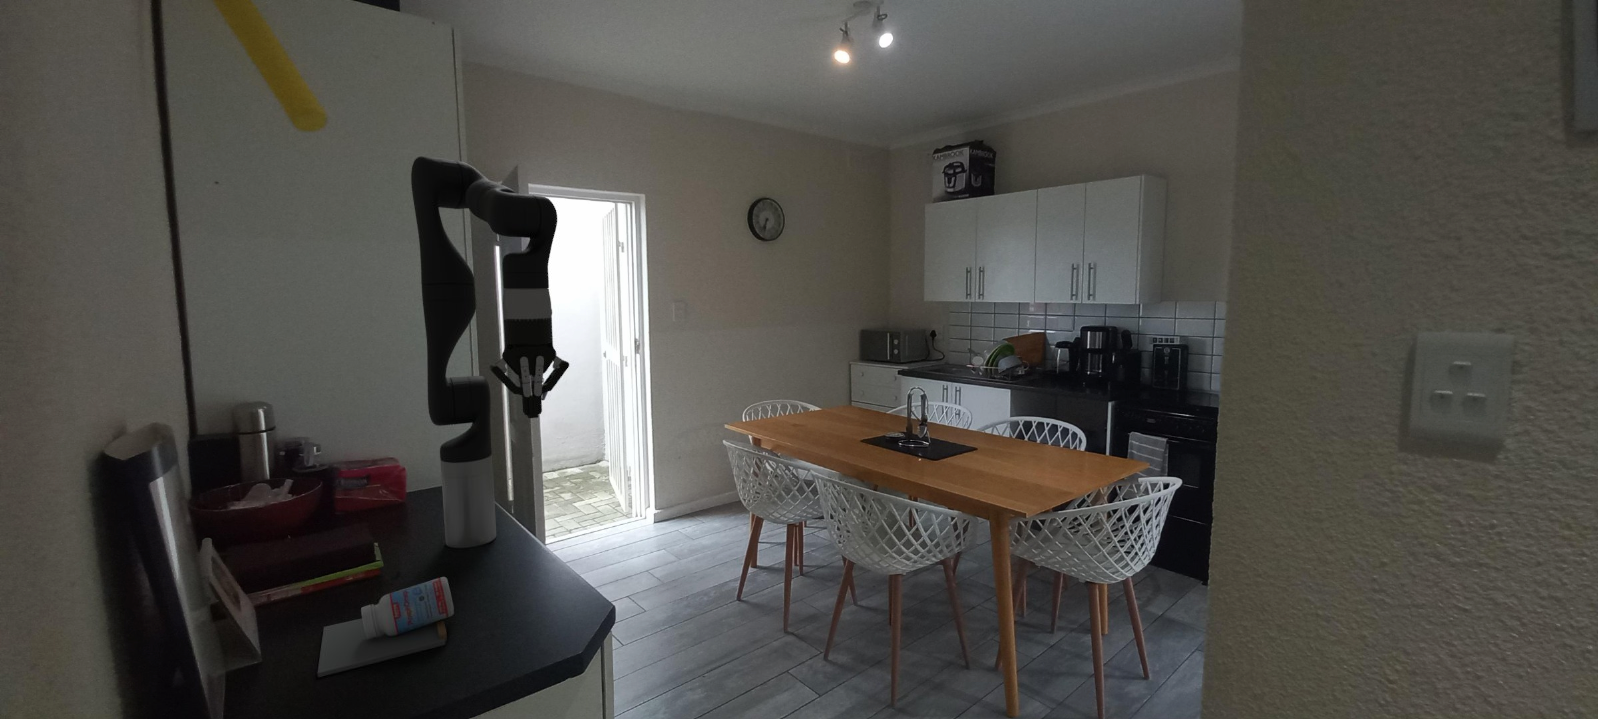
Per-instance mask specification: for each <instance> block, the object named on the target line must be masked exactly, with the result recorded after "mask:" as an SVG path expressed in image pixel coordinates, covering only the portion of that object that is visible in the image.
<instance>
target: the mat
mask: <svg viewBox="0 0 1598 719" xmlns="http://www.w3.org/2000/svg"><path fill="white" fill-rule="evenodd" d="M320 646H321V647H320V652H319V661H318V667H317V678H322V677H324V676H329V675H333V674H338V673H342V672H345V671H348V670H352V669H356V668H361V667H365V666H368V665H371V664H372V665H373V664H377V663H381V662H384V661H388V660H391V659H395V658H399V657H403V656H408V655H411V654H415V653H419V652H423V651H427V650H430V649H435V648H438V647H443V646H446V641H445V638H442V639H439V636H438V630H437V625H436V621H435V622H433V623H430V624H427V625H424V626H421V627H418V628H415V629H412V630H410V631H407V632H404V633H401V634H398V635H395V636H389V635H387V634H386V633H385V632H383V633H380V634H379V636H378V635H377V637H374V638H371V639H367V637H366V634H365V630H364V625H363V620H362V617H361V618H358V619H353V620H349V621H345V622H339V623H336V624H331V625H327V626H323V633H322V638H321V645H320Z"/></svg>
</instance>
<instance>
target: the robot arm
mask: <svg viewBox="0 0 1598 719" xmlns="http://www.w3.org/2000/svg"><path fill="white" fill-rule="evenodd" d="M410 175H411V176H410V182H411V183H410V184H411V191H412V192H411V193H412V201H413V206H414V213H415V219H416V225H417V226H416V227H417V233H418V240H419V241H418V242H419V254H420V257H419V258H420V274H421V275H420V276H421V277H420V278H421V279H420V280H421V281H420V284H421V296H422V298H421V299H422V300H421V301H422V308H423V318H424V327H425V335H426V336H425V337H426V350H427V351H426V353H427V355H426V357H427V362H426V363H427V364H426V365H427V374H426V375H427V406H428V414H429V417H430V421H431V422H432V424H434V425H435V426H437V427H439V426H441V427H442V426H453V425H461V424H471V425H470V427H469V428H468V429H467V430H466V431H464V432H463V433H461V434H459V435H458V436H456V437H454V438H452V439H449V440H447V441H445V442H443V443H442V444H441V446H440V447H439V459H440V460H439V461H440V473H441V486H442V487H441V490H442V505H443V506H442V507H443V520H444V537H445V545H446V546H447V547H449V548H455V549H466V548H467V549H469V548H474V547H479V546H482V545H485V544H488V543H490V542H493V541H494V540H495V538H497V524H496V506H495V505H496V504H495V502H496V501H495V486H494V470H493V450H492V432H491V430H492V429H491V414H492V412H491V407H492V406H491V405H492V401H491V400H492V399H491V388H490V383H489V382H488V380H487V378H486V377H485V376H482V375H469V376H467V375H466V376H455V377H447V368H448V364H449V361H450V358H451V355H452V354H453V351H454V350H455V348H456V345H457V344H458V342H459V340H460V339H461V338H462V336H463V335H464V333H465V331H467V328H468V326H469V325H470V324H471V322H472V320H473V318H474V316H475V313H476V311H477V298H476V297H477V296H476V284H475V283H476V281H475V275H474V273H473V272H472V269H471V268H470V265H469V264H468V262H467V261H466V260H465V258H464V257H463V256H462V255H461V253H460V252H459V250H458V249H457V248H456V246H455V245H454V244H453V243H452V241H451V239H450V237H449V236H448V234H447V232H446V230H445V228H444V225H443V222H442V218H441V215H440V208H442V209H443V208H444V209H452V210H453V209H454V210H463V209H468V210H469V211H470V213H471V214H473V216H475V217H476V218H478V219H479V220H481V221H483V222H486V223H487V224H488V226H489V228H490V229H491V231H492V232H493V233H494V234H497V235H499V236H502V237H508V238H527V239H529V241H528V244H527V245H526V248H525V249H523V250H520V251H519V250H518V251H514V252H509V253H506V254H505V255H504V256H503V258H502V280H503V281H502V282H503V297H502V315H503V316H502V317H503V333H504V338H503V339H504V348H503V351H502V354H501V357H502V358H500V359H499V360H498V361H497V362H496V363H494V364H491V365H490V366H489V370H490V372H491V373H492V374H494V376H496V378H497V379H498V380H499V381H500V382H501V383H502V384H503V385H504V386H505V387H506V388H507V389H508V390H509V391H510V392H511V393H512V394H514V395H519V396H521V398H522V401H521V402H522V412H523V414H524V415H525V416H527V418H528V419H537V418H539V415H541V414H542V412H543V407H542V406H543V405H542V396H543V394H545V393H548V392H551V391H552V390H553V389H554V387H555V386H556V385H557V383H558V382H559V381H560V380H561V378H562V376H564V374H565V372H566V371H567V370H568V369H569V367H570V363H569V362H568V360H567V361H566V360H564V359H562V358H560V357H559V356H558V355H557V351H556V349H555V348H554V343H553V342H554V339H553V317H552V315H553V309H552V308H553V307H552V299H551V296H550V295H551V294H550V290H549V288H550V284H549V260H550V256H551V251H552V246H553V241H554V238H555V233H556V230H557V225H558V214H557V212H558V211H557V210H556V206H555V204H554V203H553V202H552V201H551V200H550V199H549V198H548V197H547V196H543V195H536V194H528V193H527V194H526V193H525V194H523V193H518V192H516V191H515V190H513V189H512V188H510V187H509V186H505V185H503V184H500V183H498V182H495V181H493V180H490V179H488V178H487V177H486V176H485V175H484V174H482V173H481V172H480V171H479V170H478V169H476V168H475V167H474V166H472V165H470V164H469V163H467V162H464V161H459V160H454V159H448V158H442V157H441V158H440V157H434V156H433V157H432V156H426V155H425V156H422V155H421V156H418V157H416V158H415V159H414V161H413V162H412V166H411V172H410ZM506 365H507V366H508V367H509V368H510V370H512V371H513V373H514V374H515V375H517V376H518V381H519V385H516V383H515V382H514V381H513V380H511V379H510V377H509V376H508V375H507V374H506V373H507V372H508V368H507V366H506ZM551 365H552V369H553V370H552V371H551V373H550V374H549V375H548V376H547V378H546V379H545V380H544V374H546V373H547V371H548V369H549V367H550V366H551ZM543 381H544V382H543Z"/></svg>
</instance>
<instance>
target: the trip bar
mask: <svg viewBox="0 0 1598 719" xmlns="http://www.w3.org/2000/svg"><path fill="white" fill-rule="evenodd" d="M445 624H446V623H445V618H444V619H441V620H438V621H436V625H437V630H438V636H439V639H442V638H445V642H448V635H447V628H446V625H445Z"/></svg>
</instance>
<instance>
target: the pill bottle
mask: <svg viewBox="0 0 1598 719" xmlns="http://www.w3.org/2000/svg"><path fill="white" fill-rule="evenodd" d="M360 612H361V618H362V620H363V625H364V630H365V634H366V637H367V639H371V638H374V637H377V635H378V636H379V634H380V633H383V632H385V633H386V634H387V635H389V636H395V635H398V634H401V633H404V632H407V631H410V630H412V629H415V628H418V627H421V626H424V625H427V624H430V623H433V622H435V621H438V620H441V619H444V620H445V619H447V618H450V617H452V616H453V615H454V613H455V609H454V603H453V598H452V593H451V589H450V586H449V581H448V578H447V577H445V576H442V577H437V578H434V579H432V580H428V581H425V582H422V583H419V584H415V585H412V586H409V587H406V588H402V589H399V590H396V591H393V592H390V593H386V594H385V595H383V596H382V597H381V598H380V599H379V601H378V603H377V604H374V603H372V604H368V605H365V606H363V607H361V609H360Z"/></svg>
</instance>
